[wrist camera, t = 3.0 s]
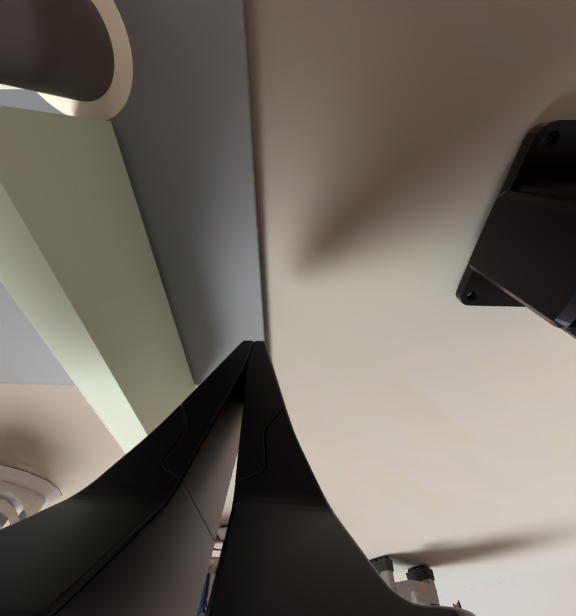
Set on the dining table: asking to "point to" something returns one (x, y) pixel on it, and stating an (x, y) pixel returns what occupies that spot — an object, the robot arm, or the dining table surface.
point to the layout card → (172, 175)
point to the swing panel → (88, 269)
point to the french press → (23, 494)
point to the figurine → (410, 583)
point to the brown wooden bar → (55, 48)
